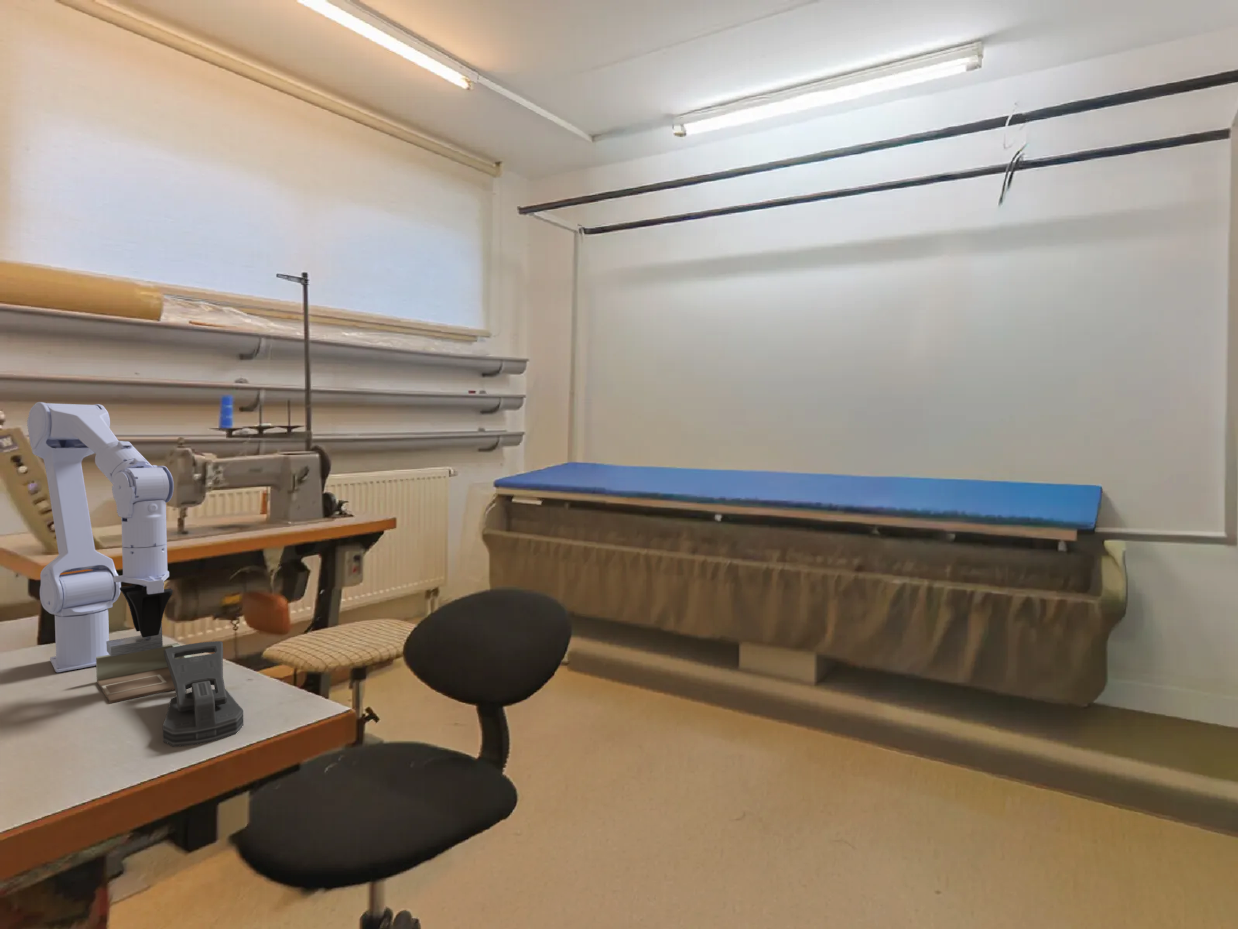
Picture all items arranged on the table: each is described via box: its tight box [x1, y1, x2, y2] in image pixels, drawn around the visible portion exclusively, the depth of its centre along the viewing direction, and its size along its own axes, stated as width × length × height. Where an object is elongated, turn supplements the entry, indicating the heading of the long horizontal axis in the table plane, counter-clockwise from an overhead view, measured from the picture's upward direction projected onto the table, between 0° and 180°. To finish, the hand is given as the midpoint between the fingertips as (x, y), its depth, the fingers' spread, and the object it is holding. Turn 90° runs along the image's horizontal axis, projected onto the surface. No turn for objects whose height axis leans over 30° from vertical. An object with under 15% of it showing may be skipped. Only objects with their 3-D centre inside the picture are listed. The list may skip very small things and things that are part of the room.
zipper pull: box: [162, 640, 244, 748], centre depth 98 cm, size 9×7×25 cm
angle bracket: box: [106, 622, 164, 657], centre depth 107 cm, size 6×4×5 cm, turn 134°
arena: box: [95, 642, 194, 704], centre depth 109 cm, size 12×11×4 cm
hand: (147, 632), depth 108 cm, fingers closed on angle bracket, 4 cm apart
